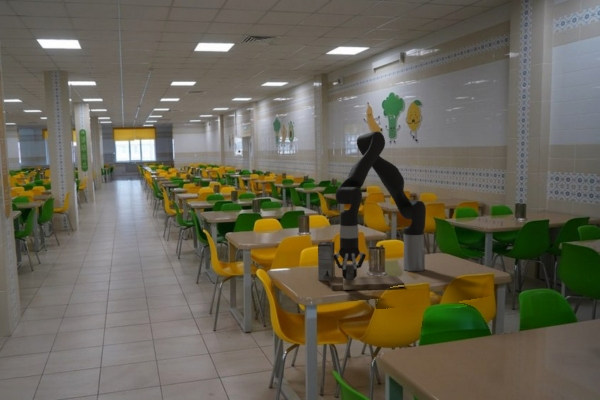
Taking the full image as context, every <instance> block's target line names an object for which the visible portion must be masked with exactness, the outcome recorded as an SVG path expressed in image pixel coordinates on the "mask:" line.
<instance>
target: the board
mask: <svg viewBox="0 0 600 400" xmlns="http://www.w3.org/2000/svg"><path fill="white" fill-rule="evenodd" d="M354 279H356V289H354V290H378V289H380V290H384V289H385V290H386V289H387V288H390V287H393V286H398V285H404V286H405V282H404V281H402V280H401V278H399V277H398V275H374V276H372V275H371V276H356V277H355V278H354ZM327 282H328V284H329V287H330V288H331V291H345V290H344V289H343V276H338V277H336V276H335V277H329V278H328V281H327ZM390 289H391V288H390ZM387 290H388V289H387Z"/></svg>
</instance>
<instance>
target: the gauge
mask: <svg viewBox="0 0 600 400" xmlns="http://www.w3.org/2000/svg"><path fill="white" fill-rule="evenodd" d="M342 277H343V276H342ZM343 289H344V290H343V291H346V290H348V291H349V290H354V289H355V290H357V289H356V279H354V265H353V264H352V263H349V264H348V263H347V264H346V279H344V277H343Z"/></svg>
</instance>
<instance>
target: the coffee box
mask: <svg viewBox="0 0 600 400" xmlns="http://www.w3.org/2000/svg"><path fill="white" fill-rule="evenodd" d="M335 249H336V248H335V241H321V242H319V244H317V266H318V267H317V268H318V269H317V270H318V271H317V273H318V275H317V277H318V281H327V282H328V278H329V277H336V271H335V270H336V267H335V265H336V264H335V263H336V261H335V259H334V257H333V254H336V251H335Z"/></svg>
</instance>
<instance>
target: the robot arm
mask: <svg viewBox="0 0 600 400" xmlns="http://www.w3.org/2000/svg"><path fill="white" fill-rule="evenodd" d="M356 146H357V148H358V151H359V153H360V154H361V155H362V156H361V157H360V158H359V159H358V160H357V161H356V162H355V163H354V164H353V165H352V168H351V169H350V171H349V173H348V175H347V177H346V178H345V180H344V181H342V183H341V184H340V185H339V186H338V188H337V189H336V192H335V200H336V202H337V203H338V204H341V205H350V207H349V208H348V209H346V210H342V211H341V212H340V214H339V215H340V216H339V219H340V221H339V222H340V225H339V226H340V227H339V250H338V252H337V253H336V252H335V254H333V257H334V259H335V263H336V264H335V265H337V268H338V269H342V270H341V272H342V273H341V274H342V276H341V277H344V279H346V264H348V263H347V262H351V264H353V265H354V278H355V277H358V275H357V274H358V272H357V270H358V269H359V268H362V266H363V263H364V261H365V259H366V257H367V255H366V253H365V252H361V250H360V249H359V236H360V233H359V222H358V221H359V218H358V217H359V211H360V206H361V203H362V199H363V194H362V193H363V192H362V190H361V188H363V186H364V183H365V180H366V179H367V176H368V173H369V172H370V170H371V168H372V169H373V171H374V172H375V173H376V175H377V176H378V177H379V180H380V181H381V183H382V184H383V186H384V188H385V189H386V190H387V191H388V193H389V195H390V197H391V198H392V200H393V201H394V204H395V205H396V208H397V209H398V212H399V213H400V215H401V217H403V218H404V219H407V220H410V221H411V223H410V225H408V226H406V227H404V228H403V270H405V271H407V272H421V271H425V268H426V267H425V264H426V262H425V261H426V260H425V259H426V256H425V255H426V253H425V252H426V251H425V249H424V235H425V234H424V231H425V228H426V214H427V208H426V205H425V202H423V201H421V200H415V199H410V198H408V196H407V194H406V193H405V190H404V188H405V179H404V176H403V175H402V173H401V172H400V170H399V169H398V167H397V166H396V165H394V164H393V163H392V162H390V161H388V160H386V159H384V158H383V157H381V154H382V152H383V150H385V146H386V139H385V136H384V134H383V133H382V132H380V131H377V130H376V131H372V132H371V131H370V132H367V133H363V134H360V135H359V136H357V138H356ZM358 256H359V259H358V262H357V261H356V260H357V258H358ZM340 257H341V259H342V264H341V263H340V261H339V260H340V259H339V258H340Z"/></svg>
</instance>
